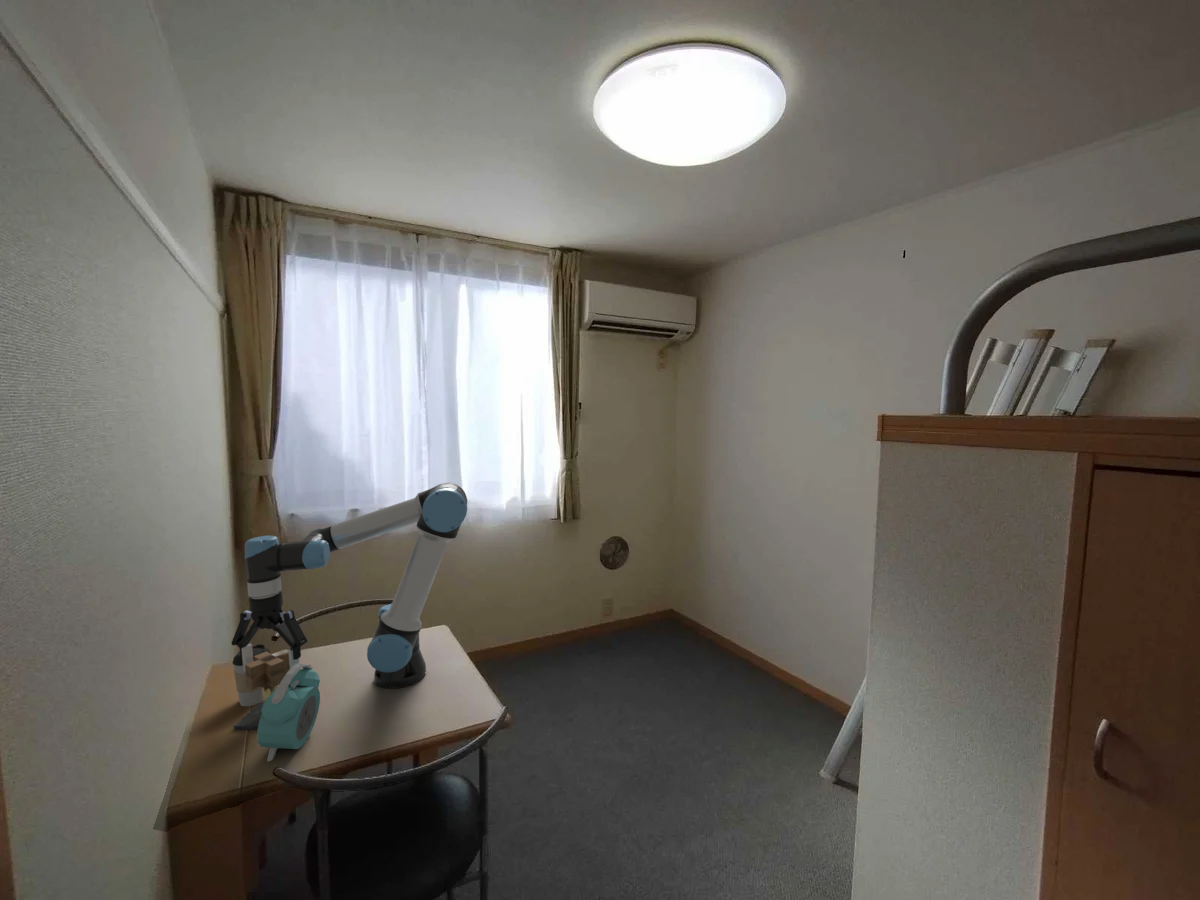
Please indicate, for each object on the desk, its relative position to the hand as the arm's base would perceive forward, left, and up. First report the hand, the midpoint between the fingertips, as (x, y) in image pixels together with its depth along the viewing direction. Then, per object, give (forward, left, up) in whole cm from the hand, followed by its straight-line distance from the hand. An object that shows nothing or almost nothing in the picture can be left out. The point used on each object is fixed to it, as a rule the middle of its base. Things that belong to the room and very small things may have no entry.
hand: (271, 669), depth 135 cm
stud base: (+1, 0, -13) cm, 13 cm away
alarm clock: (-12, +12, -13) cm, 22 cm away
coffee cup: (+11, -7, -13) cm, 19 cm away
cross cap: (+1, 0, -4) cm, 4 cm away
